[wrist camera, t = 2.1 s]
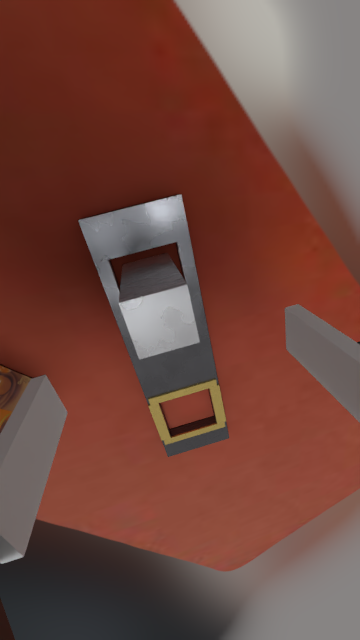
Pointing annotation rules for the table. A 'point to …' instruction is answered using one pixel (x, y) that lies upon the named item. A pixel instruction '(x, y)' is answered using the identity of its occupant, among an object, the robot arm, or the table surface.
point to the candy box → (10, 392)
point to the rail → (197, 359)
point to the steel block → (156, 306)
